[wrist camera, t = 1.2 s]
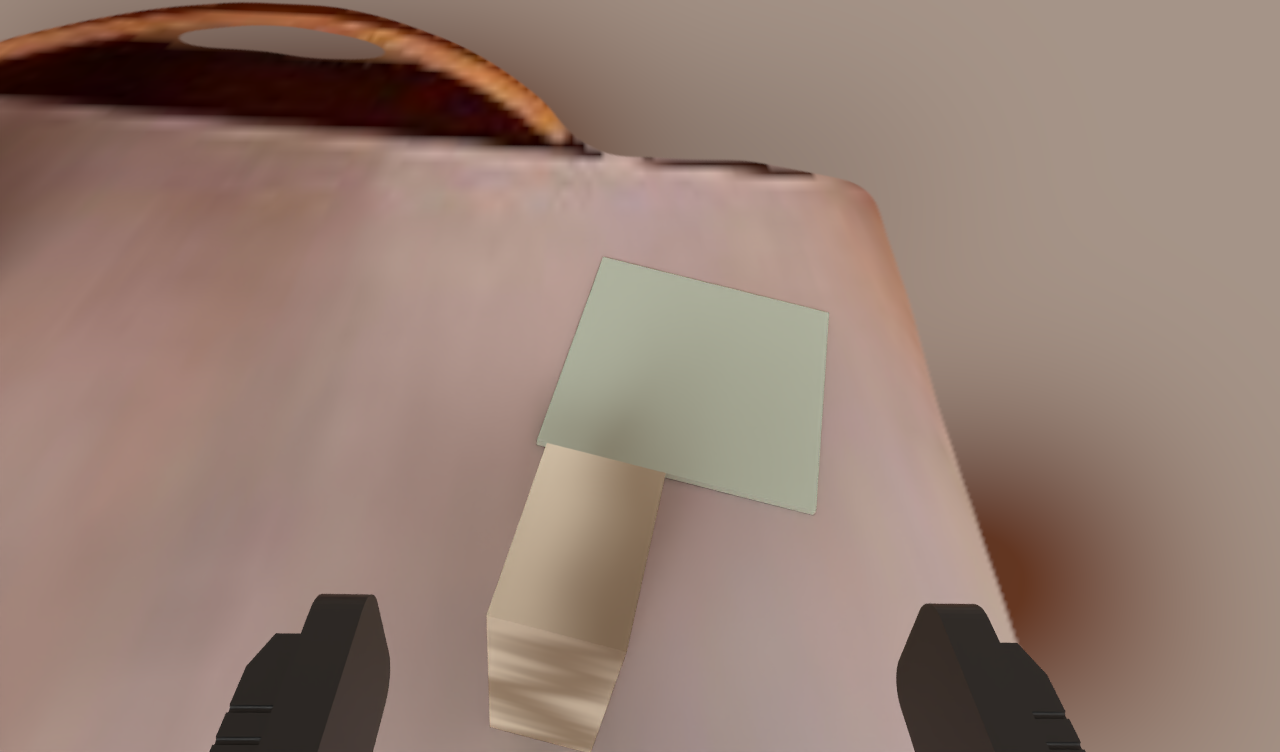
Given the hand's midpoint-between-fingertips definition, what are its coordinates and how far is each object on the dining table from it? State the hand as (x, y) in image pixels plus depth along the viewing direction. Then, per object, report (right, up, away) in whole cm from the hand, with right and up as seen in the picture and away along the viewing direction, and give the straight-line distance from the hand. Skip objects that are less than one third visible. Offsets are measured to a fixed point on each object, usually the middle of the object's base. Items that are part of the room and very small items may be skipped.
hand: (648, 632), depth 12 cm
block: (-3, -8, +20) cm, 22 cm away
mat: (+3, +4, +31) cm, 31 cm away
